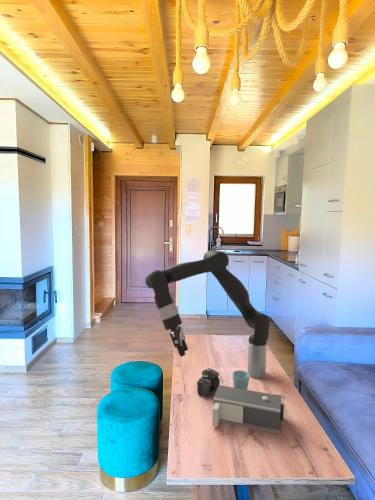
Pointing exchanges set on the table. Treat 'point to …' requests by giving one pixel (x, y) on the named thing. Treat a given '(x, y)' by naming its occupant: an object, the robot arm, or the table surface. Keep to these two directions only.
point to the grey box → (253, 408)
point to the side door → (227, 413)
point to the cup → (240, 379)
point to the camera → (208, 382)
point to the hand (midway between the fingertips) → (184, 353)
